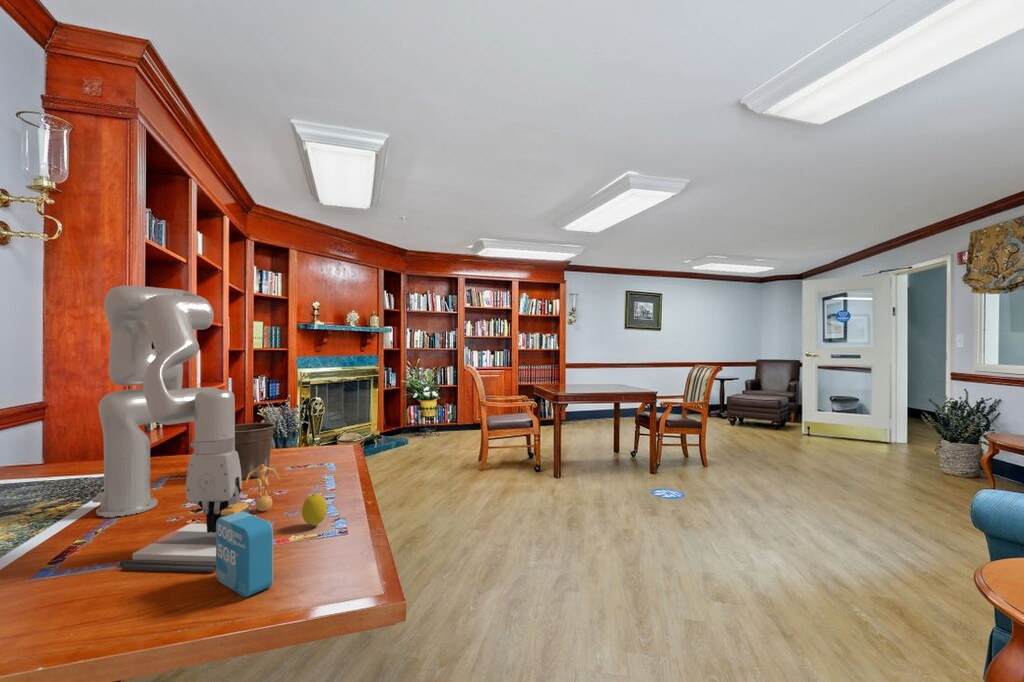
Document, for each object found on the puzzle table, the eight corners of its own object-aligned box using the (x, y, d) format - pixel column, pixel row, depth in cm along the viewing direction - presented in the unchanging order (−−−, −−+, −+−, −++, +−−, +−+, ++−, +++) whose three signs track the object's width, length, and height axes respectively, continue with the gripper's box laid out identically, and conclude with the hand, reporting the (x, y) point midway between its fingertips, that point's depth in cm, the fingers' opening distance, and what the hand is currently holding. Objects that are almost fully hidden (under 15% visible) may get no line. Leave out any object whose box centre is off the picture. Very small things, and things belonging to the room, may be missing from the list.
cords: (112, 570, 92) (112, 565, 92) (123, 564, 95) (123, 559, 95) (212, 573, 91) (212, 568, 91) (221, 567, 94) (221, 562, 94)
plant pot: (234, 468, 165) (234, 422, 165) (282, 467, 167) (282, 421, 167) (209, 483, 149) (209, 431, 149) (263, 481, 151) (263, 430, 150)
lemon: (331, 523, 116) (331, 491, 116) (315, 532, 111) (315, 498, 111) (313, 520, 118) (313, 488, 118) (296, 529, 112) (296, 495, 112)
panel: (131, 559, 97) (131, 552, 97) (189, 528, 113) (189, 522, 113) (227, 562, 96) (227, 555, 96) (272, 530, 112) (272, 524, 112)
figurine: (248, 516, 120) (247, 469, 120) (242, 510, 125) (242, 465, 125) (283, 509, 126) (283, 464, 126) (276, 503, 130) (276, 459, 130)
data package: (215, 580, 89) (215, 516, 89) (240, 570, 92) (240, 509, 92) (248, 600, 82) (247, 531, 82) (273, 589, 86) (273, 522, 86)
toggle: (220, 542, 101) (220, 511, 101) (235, 533, 106) (235, 502, 106) (234, 543, 101) (234, 511, 101) (248, 533, 106) (248, 503, 106)
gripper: (169, 450, 101) (169, 536, 101) (236, 451, 100) (237, 538, 100) (195, 442, 108) (195, 522, 108) (258, 443, 107) (258, 524, 107)
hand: (215, 529), depth 104 cm, fingers closed
